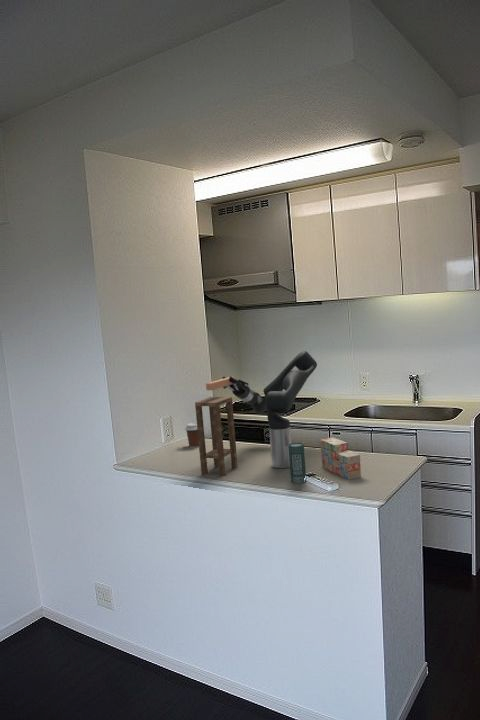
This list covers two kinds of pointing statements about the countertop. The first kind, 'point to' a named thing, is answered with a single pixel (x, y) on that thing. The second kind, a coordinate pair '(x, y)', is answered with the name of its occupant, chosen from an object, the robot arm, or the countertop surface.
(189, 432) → the coffee cup
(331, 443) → the stack of blocks
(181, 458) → the countertop surface
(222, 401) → the stool
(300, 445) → the can
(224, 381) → the bar
